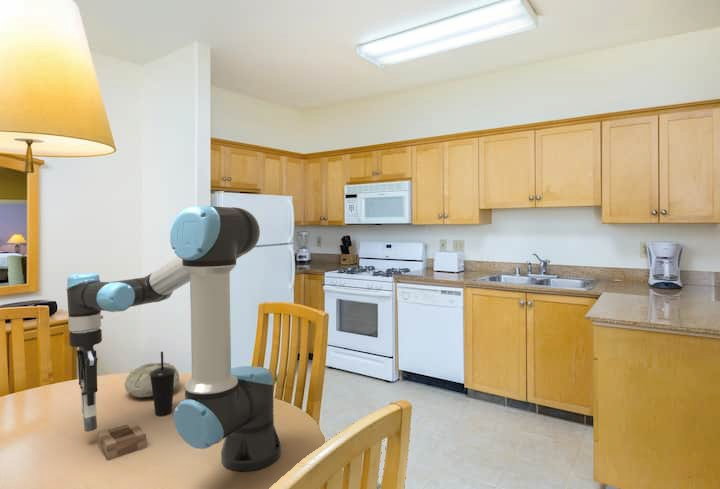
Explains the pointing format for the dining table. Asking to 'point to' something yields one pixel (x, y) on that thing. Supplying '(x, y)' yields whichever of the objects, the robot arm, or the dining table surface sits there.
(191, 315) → the robot arm
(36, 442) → the dining table surface
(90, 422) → the metal cylinder
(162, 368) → the drinking cup
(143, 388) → the grey rounded lump
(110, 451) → the square wooden frame
